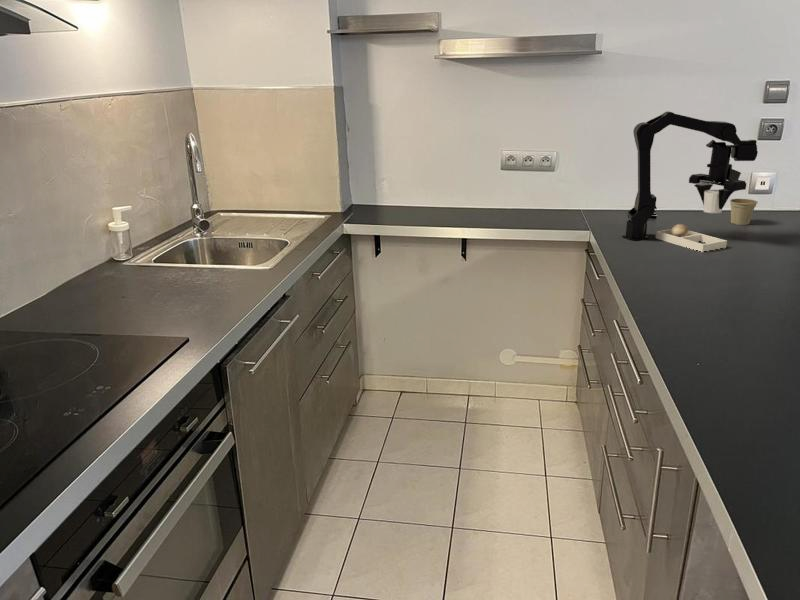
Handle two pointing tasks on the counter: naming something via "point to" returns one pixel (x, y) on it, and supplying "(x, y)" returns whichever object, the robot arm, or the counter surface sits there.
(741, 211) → the flower pot
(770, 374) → the counter surface
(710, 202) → the white and grey cylinder
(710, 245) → the holder
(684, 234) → the tan wooden ball
